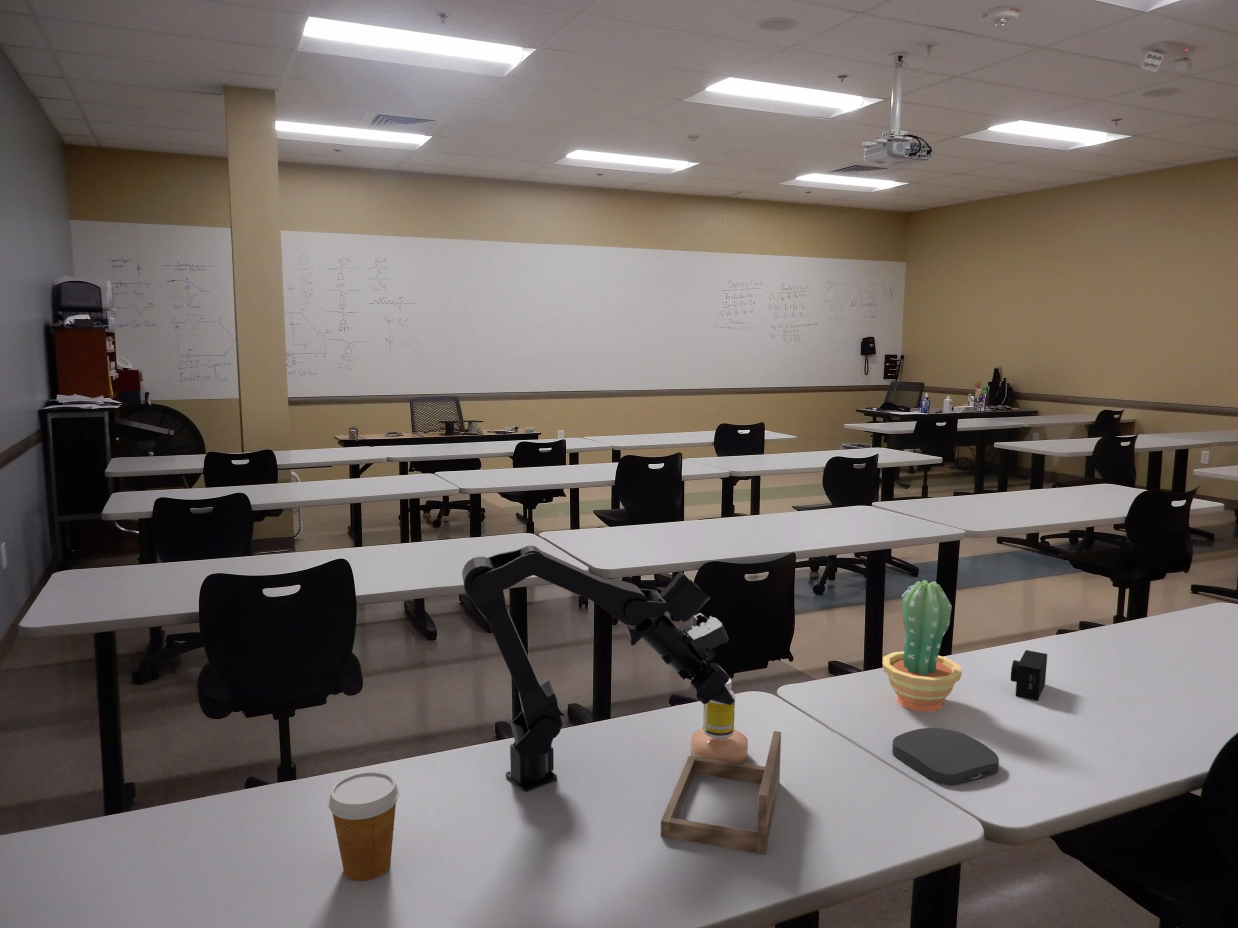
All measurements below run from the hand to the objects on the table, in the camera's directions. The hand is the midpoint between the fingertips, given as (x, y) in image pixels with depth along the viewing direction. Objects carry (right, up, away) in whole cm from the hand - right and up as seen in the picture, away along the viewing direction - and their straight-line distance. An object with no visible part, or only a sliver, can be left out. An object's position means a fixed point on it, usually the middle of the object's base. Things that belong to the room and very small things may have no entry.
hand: (726, 695), depth 147 cm
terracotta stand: (-1, -11, +1) cm, 11 cm away
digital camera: (+67, -7, +30) cm, 74 cm away
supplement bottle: (-1, -7, +1) cm, 7 cm away
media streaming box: (+38, -12, 0) cm, 40 cm away
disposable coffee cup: (-54, -16, -30) cm, 64 cm away
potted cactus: (+42, -8, +23) cm, 49 cm away
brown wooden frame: (-2, -13, -15) cm, 21 cm away
